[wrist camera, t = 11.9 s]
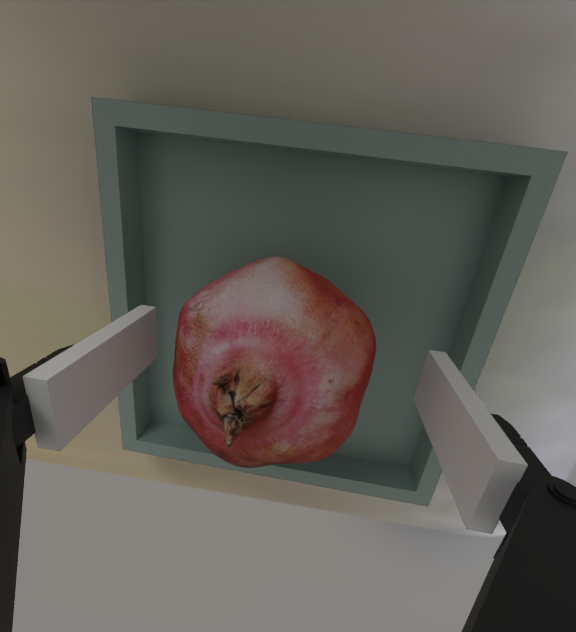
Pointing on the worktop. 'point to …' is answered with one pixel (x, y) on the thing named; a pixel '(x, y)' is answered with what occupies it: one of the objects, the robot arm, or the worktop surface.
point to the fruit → (272, 364)
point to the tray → (317, 257)
